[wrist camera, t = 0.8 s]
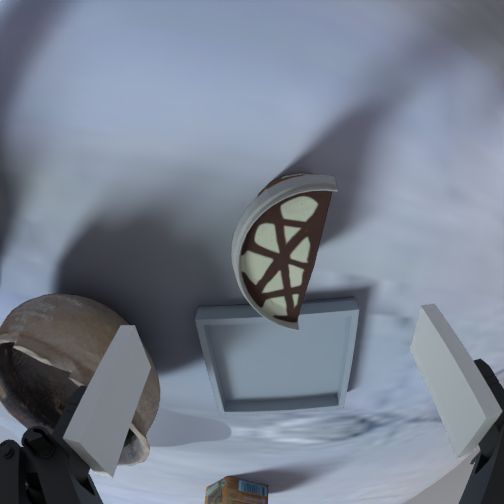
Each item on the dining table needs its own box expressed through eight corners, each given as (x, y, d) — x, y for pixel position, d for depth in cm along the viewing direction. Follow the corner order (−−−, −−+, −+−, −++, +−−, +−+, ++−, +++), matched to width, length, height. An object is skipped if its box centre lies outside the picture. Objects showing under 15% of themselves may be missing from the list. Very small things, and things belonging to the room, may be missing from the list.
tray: (221, 401, 43) (219, 414, 41) (198, 306, 36) (194, 319, 33) (340, 395, 42) (343, 407, 40) (354, 296, 34) (359, 309, 32)
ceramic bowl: (171, 276, 34) (123, 376, 20) (181, 399, 43) (161, 484, 30) (20, 257, 34) (-50, 320, 20) (58, 372, 43) (20, 437, 30)
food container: (249, 146, 28) (243, 164, 19) (315, 158, 28) (340, 182, 19) (230, 265, 33) (219, 325, 24) (288, 274, 33) (297, 336, 24)
